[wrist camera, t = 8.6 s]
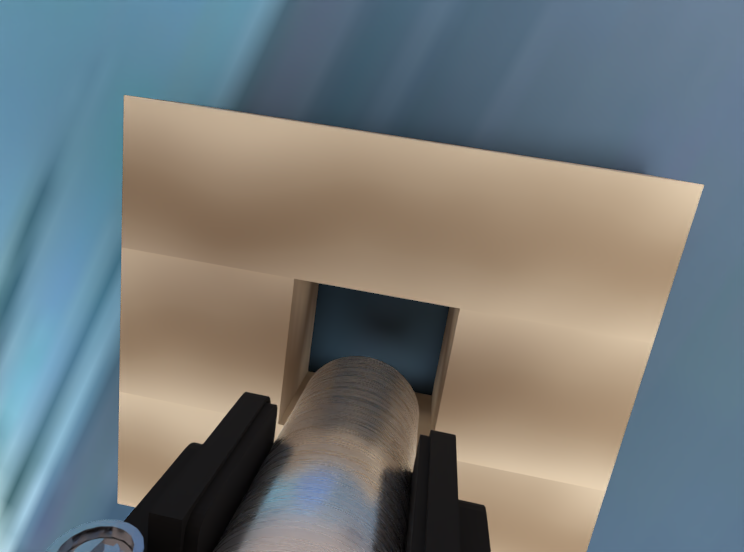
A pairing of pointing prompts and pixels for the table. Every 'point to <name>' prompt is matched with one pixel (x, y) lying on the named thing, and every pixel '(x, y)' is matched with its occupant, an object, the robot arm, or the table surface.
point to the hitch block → (393, 294)
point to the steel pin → (335, 467)
